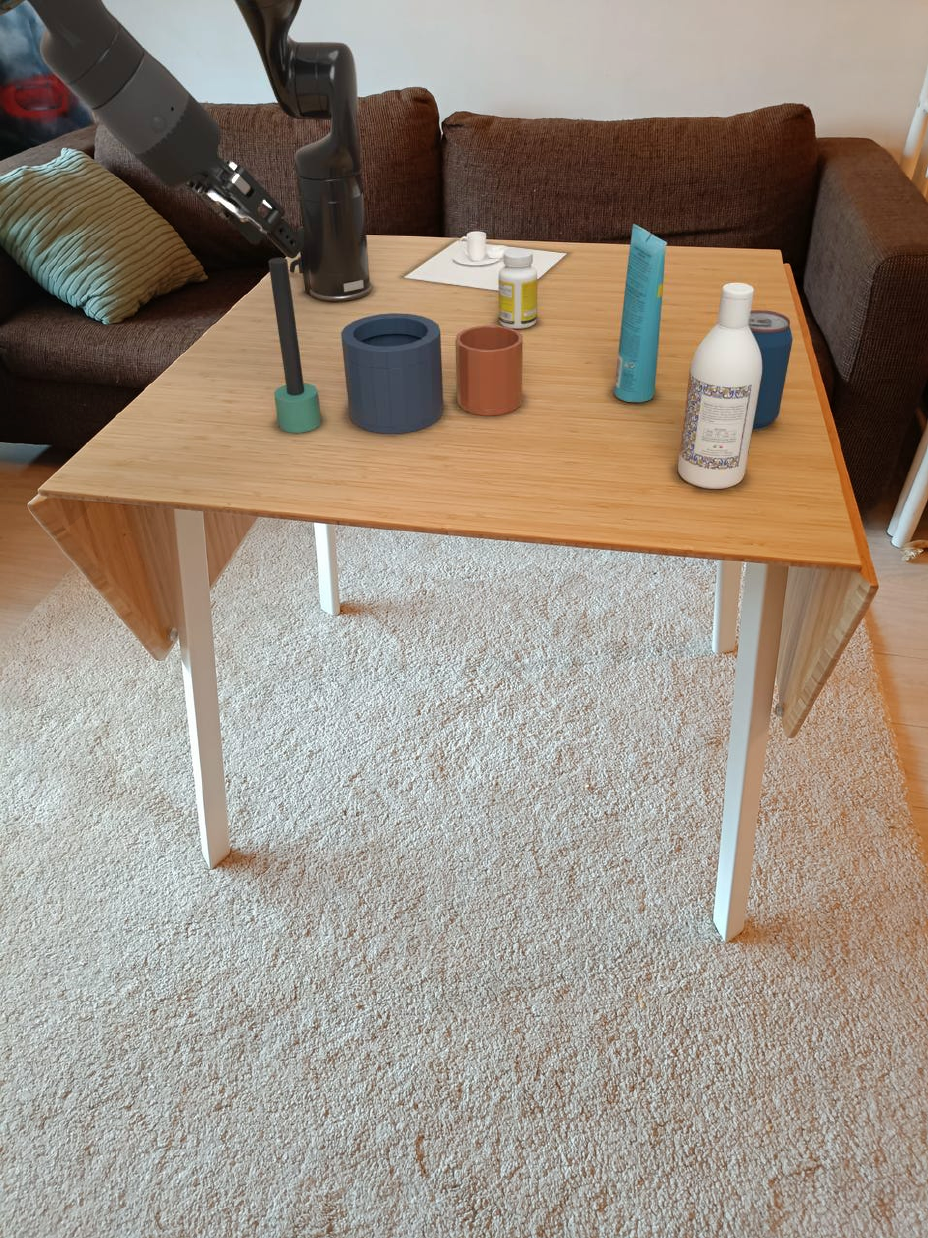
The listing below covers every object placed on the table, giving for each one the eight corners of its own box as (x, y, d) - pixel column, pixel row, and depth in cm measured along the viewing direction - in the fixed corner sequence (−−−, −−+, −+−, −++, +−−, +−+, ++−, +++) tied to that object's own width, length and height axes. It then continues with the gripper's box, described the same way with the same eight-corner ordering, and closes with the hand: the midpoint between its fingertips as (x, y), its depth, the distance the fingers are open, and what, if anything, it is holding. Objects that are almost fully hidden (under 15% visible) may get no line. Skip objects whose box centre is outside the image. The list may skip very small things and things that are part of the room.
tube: (667, 402, 119) (686, 238, 107) (634, 410, 117) (649, 245, 105) (633, 379, 124) (647, 220, 112) (600, 387, 122) (611, 227, 110)
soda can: (775, 409, 116) (794, 309, 109) (778, 436, 111) (797, 333, 104) (715, 405, 118) (730, 306, 110) (715, 431, 112) (730, 329, 105)
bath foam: (697, 452, 109) (723, 269, 96) (755, 471, 105) (789, 284, 93) (664, 477, 105) (686, 289, 92) (723, 498, 101) (754, 306, 89)
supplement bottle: (537, 315, 141) (539, 245, 135) (535, 330, 137) (537, 258, 131) (499, 315, 142) (499, 245, 136) (497, 329, 138) (497, 258, 132)
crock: (446, 408, 119) (443, 344, 114) (475, 382, 124) (474, 321, 119) (504, 420, 116) (504, 355, 111) (532, 394, 121) (533, 331, 116)
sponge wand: (270, 427, 116) (244, 264, 104) (295, 410, 119) (273, 250, 107) (305, 436, 114) (282, 270, 102) (329, 418, 117) (310, 256, 106)
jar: (331, 422, 116) (321, 340, 110) (381, 385, 124) (374, 307, 118) (413, 441, 112) (407, 357, 106) (459, 402, 120) (457, 322, 114)
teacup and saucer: (513, 255, 162) (513, 230, 160) (494, 270, 157) (494, 244, 154) (465, 249, 165) (464, 224, 163) (444, 264, 160) (443, 238, 157)
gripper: (213, 90, 84) (335, 226, 96) (153, 81, 94) (270, 205, 106) (159, 160, 84) (288, 287, 96) (105, 143, 94) (228, 260, 106)
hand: (278, 244), depth 101 cm, fingers open, 8 cm apart
